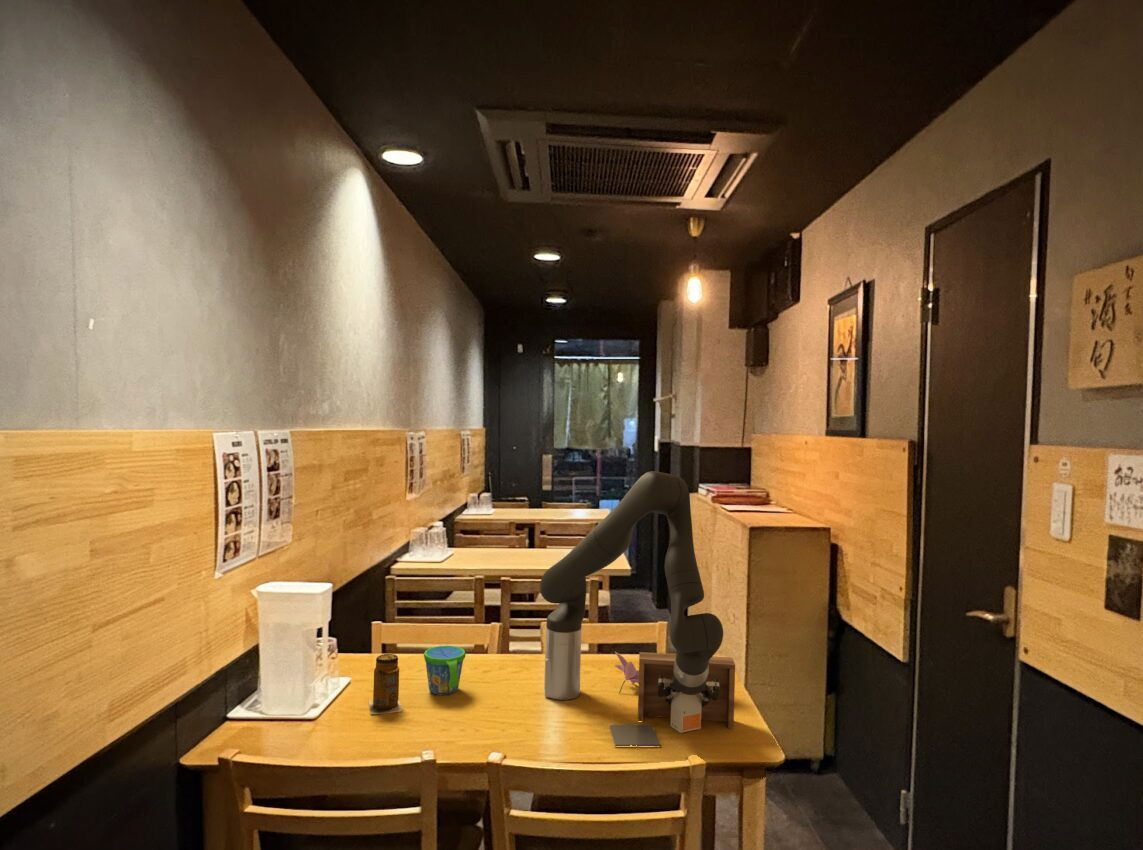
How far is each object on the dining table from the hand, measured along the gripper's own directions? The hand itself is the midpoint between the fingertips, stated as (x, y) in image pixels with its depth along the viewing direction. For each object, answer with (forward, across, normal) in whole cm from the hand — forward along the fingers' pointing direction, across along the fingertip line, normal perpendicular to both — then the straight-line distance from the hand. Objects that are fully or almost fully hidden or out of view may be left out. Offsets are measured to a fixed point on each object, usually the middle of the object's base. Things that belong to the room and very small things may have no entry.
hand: (685, 701), depth 159 cm
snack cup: (+12, +62, -4) cm, 63 cm away
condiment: (+3, +73, +5) cm, 73 cm away
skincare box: (+3, 0, +5) cm, 6 cm away
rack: (+6, 0, +2) cm, 6 cm away
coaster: (-2, +12, +10) cm, 15 cm away
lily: (+18, +13, -10) cm, 24 cm away
